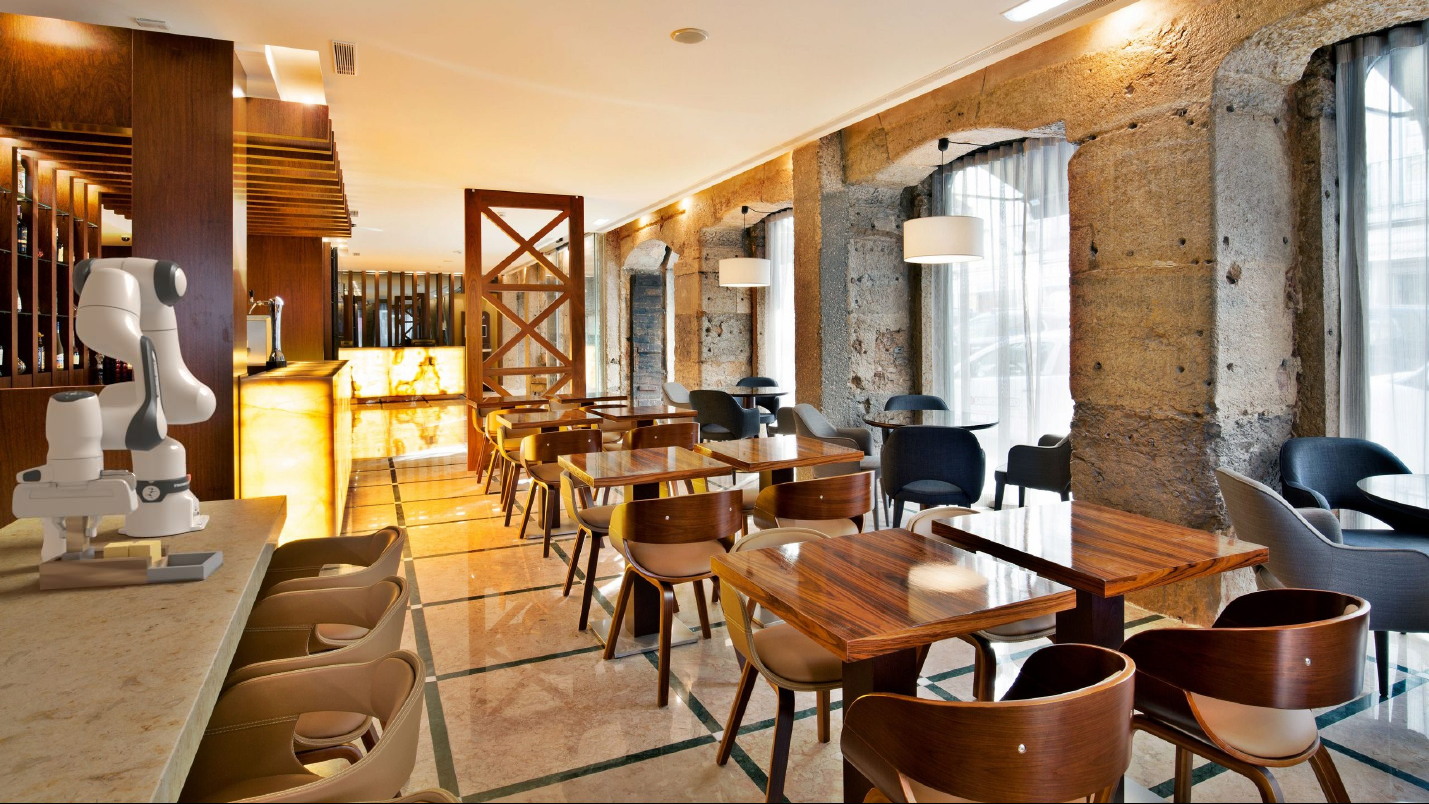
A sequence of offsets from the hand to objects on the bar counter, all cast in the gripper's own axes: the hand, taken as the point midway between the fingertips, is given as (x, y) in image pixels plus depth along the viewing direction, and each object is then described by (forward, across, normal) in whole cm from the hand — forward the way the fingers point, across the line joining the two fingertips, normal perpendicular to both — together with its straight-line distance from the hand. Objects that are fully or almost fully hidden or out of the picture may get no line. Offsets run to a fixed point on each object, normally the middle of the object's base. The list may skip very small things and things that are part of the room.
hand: (78, 537), depth 155 cm
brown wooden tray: (+9, -5, 0) cm, 10 cm away
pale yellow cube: (+4, -12, 0) cm, 12 cm away
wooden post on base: (+5, 0, 0) cm, 5 cm away
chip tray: (+9, -19, 0) cm, 21 cm away
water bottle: (+9, +8, -13) cm, 18 cm away
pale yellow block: (+4, -7, 0) cm, 8 cm away
